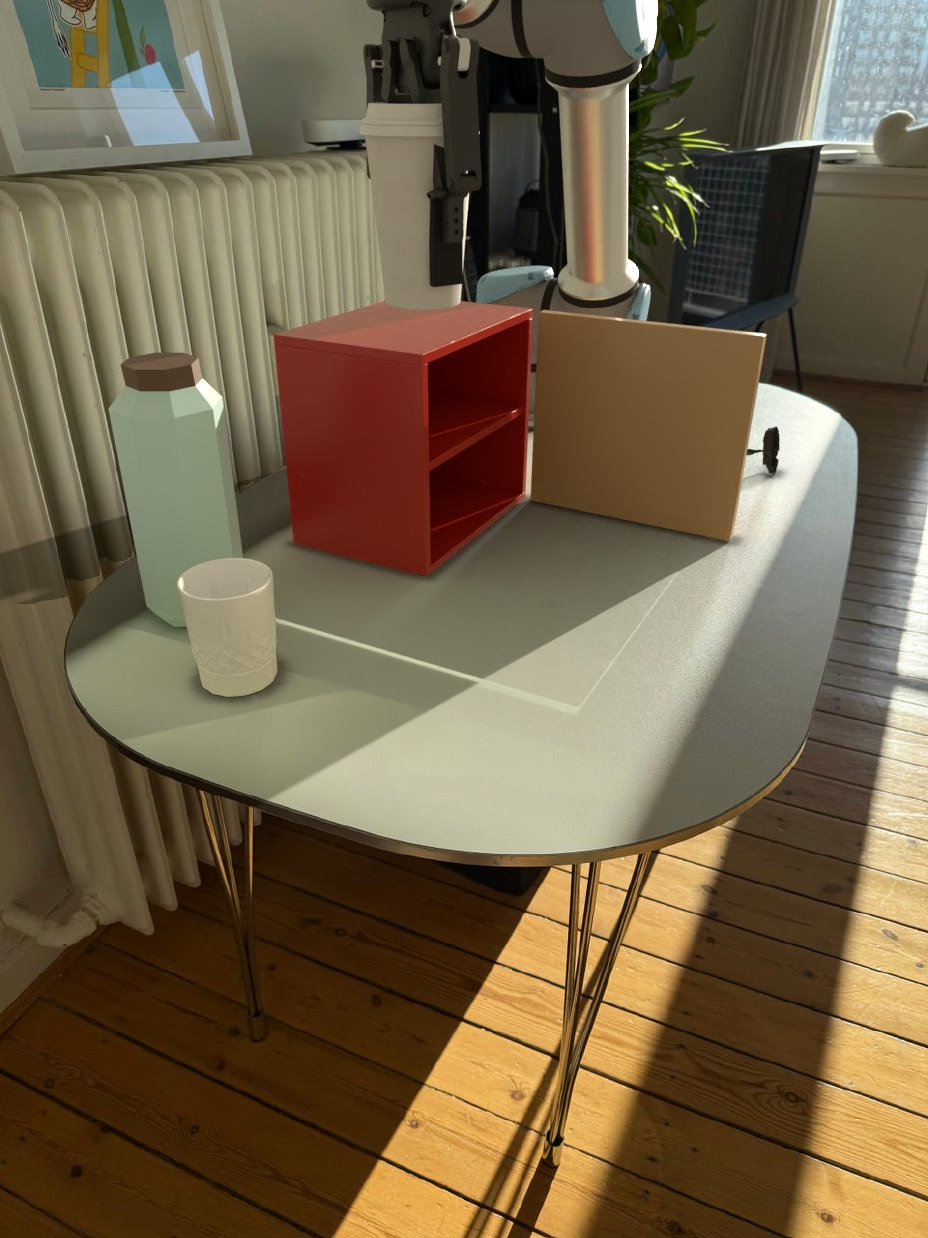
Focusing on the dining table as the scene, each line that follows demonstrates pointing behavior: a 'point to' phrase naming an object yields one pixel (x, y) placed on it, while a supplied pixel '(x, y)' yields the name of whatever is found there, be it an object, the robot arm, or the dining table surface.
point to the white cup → (231, 624)
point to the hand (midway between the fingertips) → (422, 277)
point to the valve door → (644, 419)
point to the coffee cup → (406, 200)
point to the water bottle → (174, 473)
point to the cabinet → (404, 428)
